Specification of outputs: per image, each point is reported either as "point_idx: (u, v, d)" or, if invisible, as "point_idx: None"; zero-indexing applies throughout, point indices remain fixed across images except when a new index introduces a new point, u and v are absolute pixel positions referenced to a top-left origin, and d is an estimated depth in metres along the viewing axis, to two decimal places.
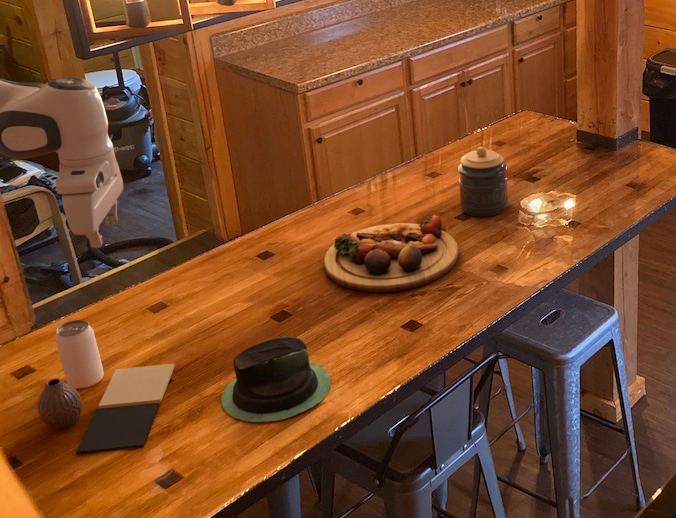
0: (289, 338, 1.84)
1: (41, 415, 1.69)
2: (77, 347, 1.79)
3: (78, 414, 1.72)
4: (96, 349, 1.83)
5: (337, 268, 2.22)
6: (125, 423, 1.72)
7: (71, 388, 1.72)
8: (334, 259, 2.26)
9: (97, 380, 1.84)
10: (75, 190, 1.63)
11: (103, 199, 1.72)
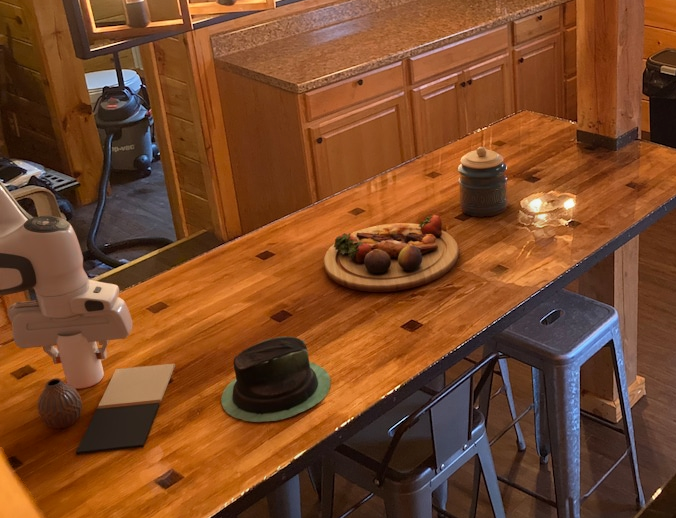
0: (289, 338, 1.84)
1: (41, 415, 1.69)
2: (77, 347, 1.79)
3: (78, 414, 1.72)
4: (96, 349, 1.83)
5: (337, 268, 2.22)
6: (125, 423, 1.72)
7: (71, 388, 1.72)
8: (334, 259, 2.26)
9: (97, 380, 1.84)
10: (116, 297, 1.80)
11: None
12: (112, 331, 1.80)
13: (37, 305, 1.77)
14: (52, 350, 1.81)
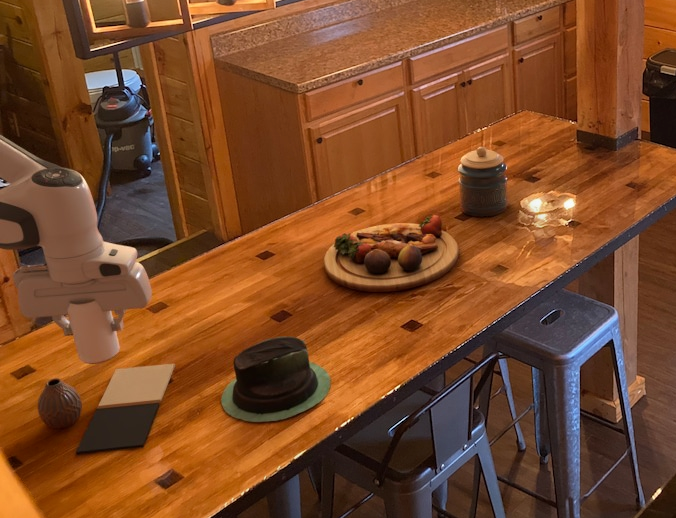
0: (289, 338, 1.84)
1: (41, 415, 1.69)
2: (90, 316, 1.60)
3: (78, 414, 1.72)
4: (111, 320, 1.64)
5: (337, 268, 2.22)
6: (125, 423, 1.72)
7: (71, 388, 1.72)
8: (334, 259, 2.26)
9: (112, 354, 1.65)
10: (134, 261, 1.61)
11: None
12: (129, 299, 1.62)
13: (46, 269, 1.58)
14: (62, 320, 1.63)
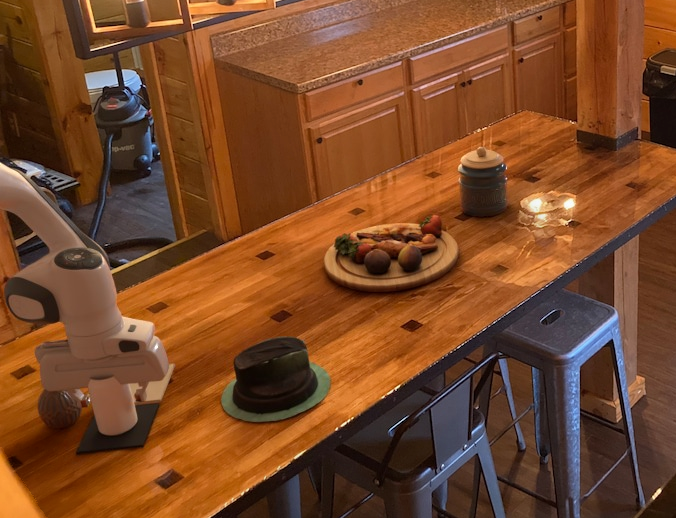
0: (289, 338, 1.84)
1: (41, 415, 1.69)
2: (110, 391, 1.65)
3: (78, 414, 1.72)
4: (130, 393, 1.70)
5: (337, 268, 2.22)
6: None
7: None
8: (334, 259, 2.26)
9: (131, 426, 1.70)
10: (152, 336, 1.66)
11: None
12: (147, 372, 1.66)
13: (67, 345, 1.63)
14: (77, 393, 1.67)
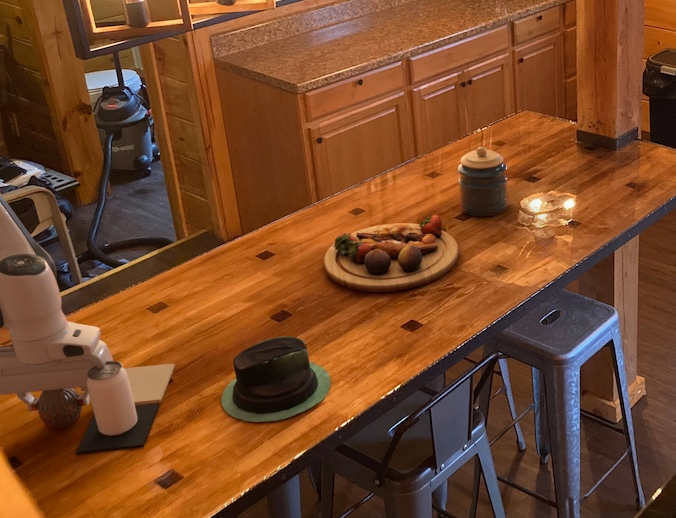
0: (289, 338, 1.84)
1: (41, 415, 1.69)
2: (110, 391, 1.65)
3: (78, 414, 1.72)
4: (130, 393, 1.70)
5: (337, 268, 2.22)
6: None
7: (71, 388, 1.72)
8: (334, 259, 2.26)
9: (131, 426, 1.70)
10: (97, 341, 1.69)
11: None
12: None
13: (12, 350, 1.66)
14: (27, 397, 1.70)
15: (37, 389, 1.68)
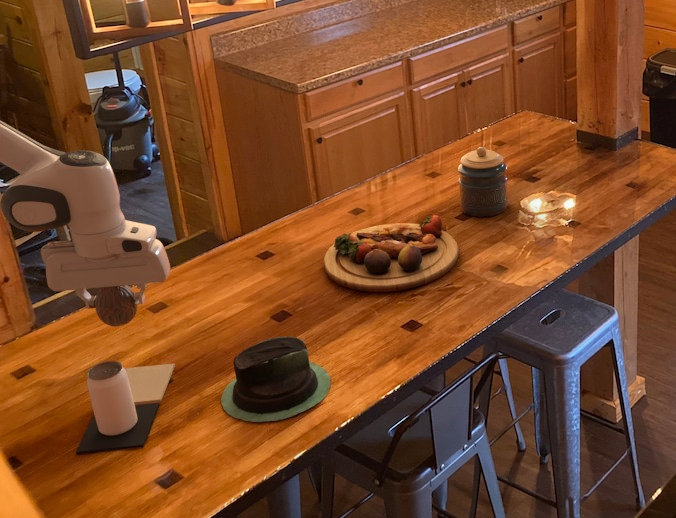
0: (289, 338, 1.84)
1: (99, 312, 1.73)
2: (110, 391, 1.65)
3: (134, 313, 1.76)
4: (130, 393, 1.70)
5: (337, 268, 2.22)
6: None
7: (127, 287, 1.75)
8: (334, 259, 2.26)
9: (131, 426, 1.70)
10: (154, 239, 1.72)
11: None
12: (149, 273, 1.72)
13: (72, 245, 1.69)
14: (85, 294, 1.73)
15: (95, 285, 1.71)
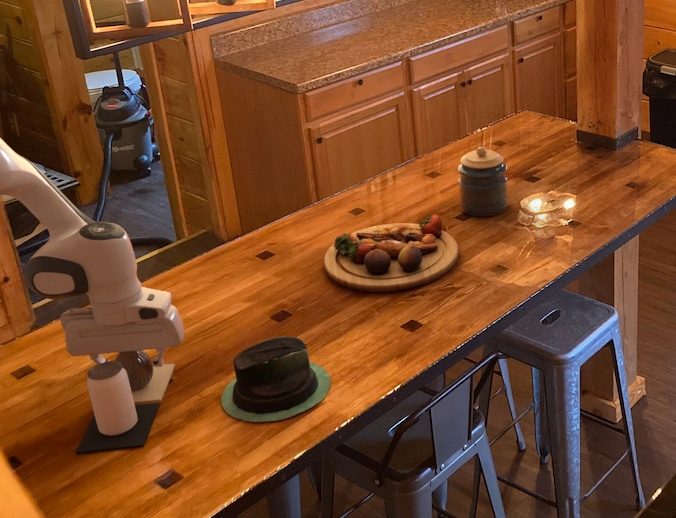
0: (289, 338, 1.84)
1: None
2: (110, 391, 1.65)
3: (150, 377, 1.82)
4: (130, 393, 1.70)
5: (337, 268, 2.22)
6: None
7: (144, 352, 1.81)
8: (334, 259, 2.26)
9: (131, 426, 1.70)
10: (169, 305, 1.78)
11: None
12: (164, 339, 1.78)
13: (90, 312, 1.75)
14: (99, 358, 1.79)
15: (112, 350, 1.77)
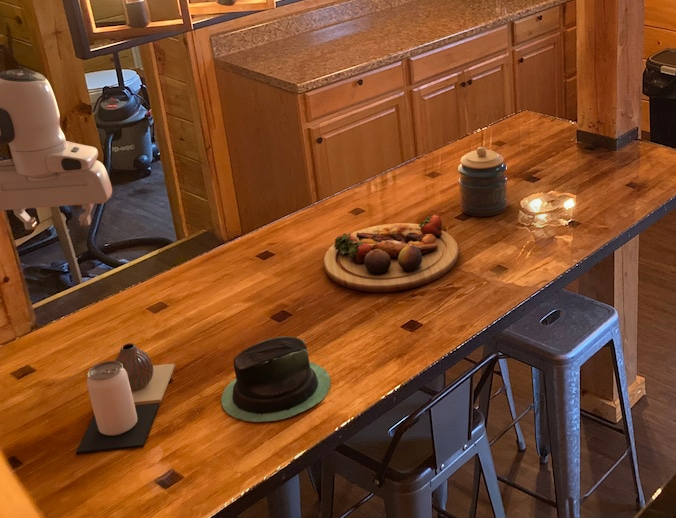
0: (289, 338, 1.84)
1: None
2: (110, 391, 1.65)
3: (150, 377, 1.82)
4: (130, 393, 1.70)
5: (337, 268, 2.22)
6: None
7: (144, 352, 1.81)
8: (334, 259, 2.26)
9: (131, 426, 1.70)
10: (94, 159, 1.74)
11: None
12: (90, 194, 1.74)
13: (12, 164, 1.71)
14: (23, 215, 1.75)
15: (36, 205, 1.73)
